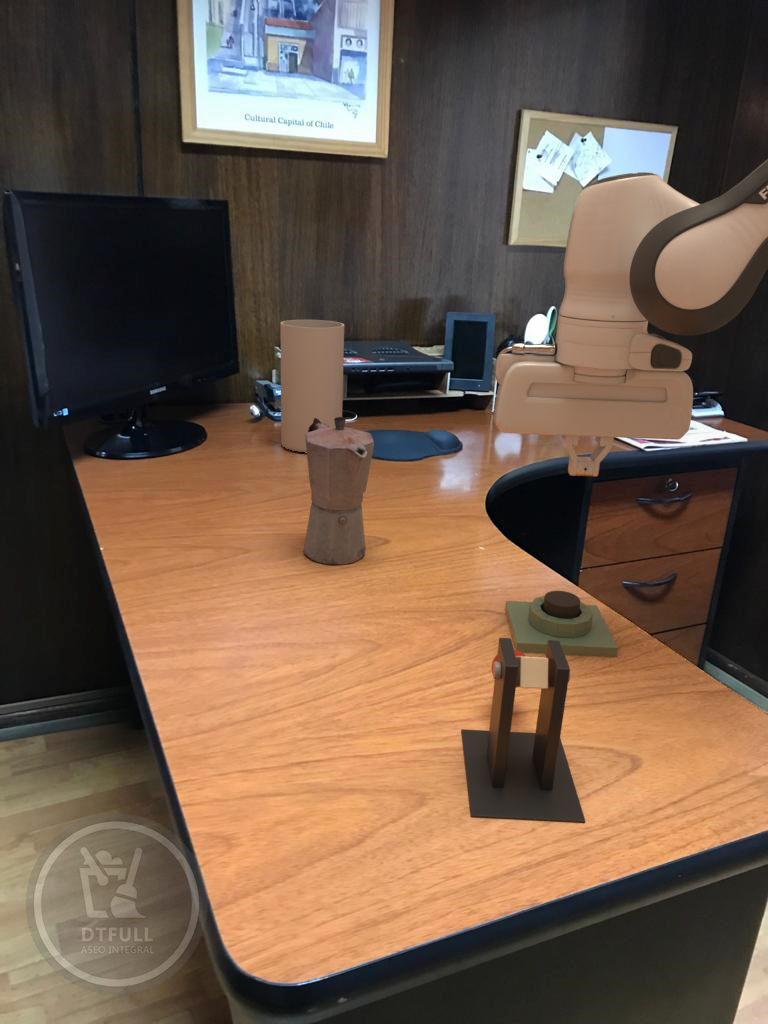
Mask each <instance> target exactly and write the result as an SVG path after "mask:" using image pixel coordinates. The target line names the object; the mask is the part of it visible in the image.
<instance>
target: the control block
mask: <svg viewBox="0 0 768 1024" xmlns="http://www.w3.org/2000/svg"><path fill="white" fill-rule="evenodd" d="M544 597H545V595H542V596H538V597H535V598H534V599H533V600H532V601H516V600H505V605H504V612H505V616H506V619H507V623H508V627H509V631H510V635H511V640H512V644H513V648H514V649H515V650H518V651H520V652H522V653H523V654H537V655H538V654H541V655H546V650H547V642H548V640H556V641H560V644H561V646H562V649H563V652H564V654H565V656H578V657H579V656H580V657H598V658H618V657H617V656H618V650H619V647H618V645H617V643H616V641H615V639H614V637H613V635H612V632H611V631H610V629H609V627H608V625H607V623H606V621H605V619H604V617H603V615H602V613H601V611H600V609H599V607H598V605H596V604H585V603H583V602H582V601H581V600H580V608H579V615H578V617H576V618H572V619H561V618H556V617H553V616H549V615H548V614H546V613H545V612H543V604H544Z"/></svg>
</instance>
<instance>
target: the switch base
mask: <svg viewBox="0 0 768 1024" xmlns="http://www.w3.org/2000/svg"><path fill="white" fill-rule="evenodd" d="M497 645H498V646H497V654H496V655H497V662H496V661H495V662H494V663H493V674H492V678H493V680H494V682H493V692H492V700H491V701H492V702H491V711H490V719H489V730H483V729H482V730H481V729H466V728H465V729H463V728H462V729H460V734H461V735H460V736H461V743H462V752H463V753H462V754H463V762H464V769H465V780H466V788H467V798H468V806H469V815H470V818H472V819H473V818H474V819H492V820H493V819H495V820H515V821H532V822H533V821H535V822H553V823H572V824H574V823H575V824H585V823H586V819H585V815H584V812H583V808H582V804H581V802H580V799H579V795H578V792H577V788H576V785H575V783H574V778H573V775H572V771H571V768H570V765H569V762H568V759H567V756H566V752H565V749H564V745H563V742H562V738H561V735H562V734H561V733H562V729H563V720H564V714H565V706H566V700H567V693H568V687H569V683H570V680H571V668H570V665H569V663H568V660H567V657H566V655H565V654H564V652H563V649H562V646H561V644H560V641H556V640H548V642H547V650H546V654H545V657H544V658H548V689H540V696H539V703H538V710H537V718H536V726H535V732H525V731H524V732H522V731H512V722H513V715H514V706H515V698H516V690H517V688H516V682H517V673H518V664H517V660H516V656H515V652H514V649H515V647H514V643H513V639H512V637H499V638H498V644H497Z"/></svg>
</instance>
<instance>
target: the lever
mask: <svg viewBox="0 0 768 1024" xmlns="http://www.w3.org/2000/svg"><path fill="white" fill-rule="evenodd" d="M514 652H515V656H516V660H517V664H518V673H517V682H516V689H517V688H521V689H522V688H523V689H540V690H541V689H548V658H545V657H544V656H543V657H541V656H527V655H526V654H525V653H522V652H520V651H518V650H515V648H514ZM495 661H496V662H497V654H496V655H495V656H494V658H493V660H492V663H491V672H492V675H493V663H494V662H495Z"/></svg>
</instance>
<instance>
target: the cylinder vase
mask: <svg viewBox="0 0 768 1024" xmlns="http://www.w3.org/2000/svg"><path fill="white" fill-rule="evenodd" d="M344 353H345V324H344V323H342V322H338V321H334V320H325V319H324V320H323V319H290V320H283V321H280V443H281V445H282V447H283V448H284V447H285V449H286V450H288V449H289V450H288V451H290V450H292V451H291V452H294V451H298V452H307V448H306V438H305V434H306V433H308V430H309V427H310V426H311V425H312V424H313V420H314V418H317V419H319V421H320V422H321V423H326V424H328V425H329V426H330V427H335V421H334V419H335V418H337V417H343V401H344V399H343V397H344V395H343V394H344V391H343V390H344ZM298 452H297V453H298Z"/></svg>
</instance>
